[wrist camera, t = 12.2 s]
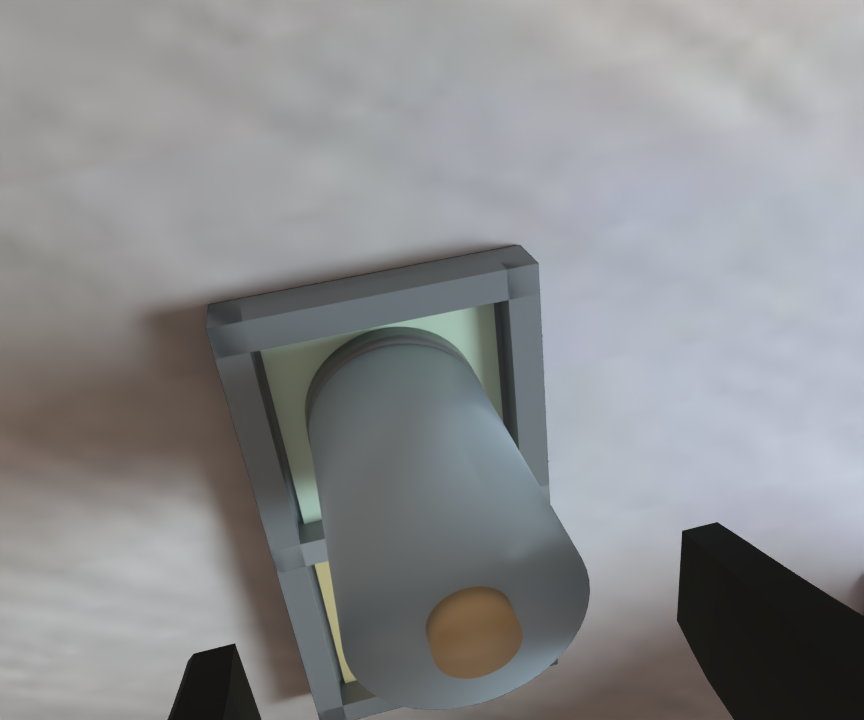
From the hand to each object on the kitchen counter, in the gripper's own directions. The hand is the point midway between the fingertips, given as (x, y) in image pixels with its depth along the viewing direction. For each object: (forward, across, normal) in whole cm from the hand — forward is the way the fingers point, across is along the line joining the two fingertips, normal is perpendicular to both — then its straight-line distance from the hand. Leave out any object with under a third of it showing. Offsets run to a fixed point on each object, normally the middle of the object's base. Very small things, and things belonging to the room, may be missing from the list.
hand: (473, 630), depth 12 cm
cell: (+7, 0, 0) cm, 7 cm away
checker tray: (+7, 0, +3) cm, 8 cm away
